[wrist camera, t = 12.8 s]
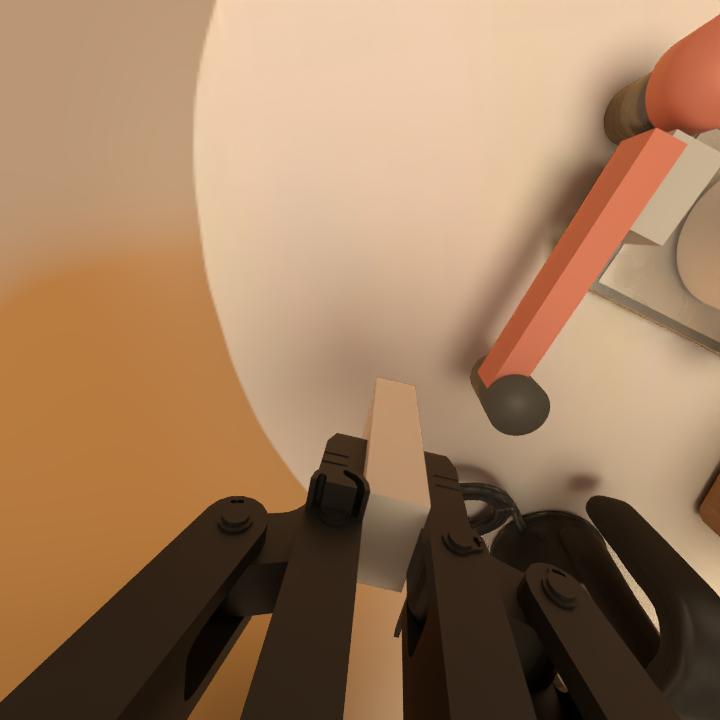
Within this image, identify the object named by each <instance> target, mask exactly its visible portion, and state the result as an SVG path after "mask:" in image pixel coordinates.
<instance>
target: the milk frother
mask: <svg viewBox="0 0 720 720" xmlns="http://www.w3.org/2000/svg"><path fill="white" fill-rule="evenodd" d="M459 484H460V488H461V492H462V496H463V500H481V501H485V502H487V503H489V504H490V505H492V506H493V507H494V510H493V512H492V513H491V514H490V515H489V516H487V517H486V518H484V519H482V520H480V521H478V522H475V523H472V524H470V527H471V528H472V529H473V530H475V531H476V532H477V533H478V534H479V535H480V536H481V535H484V534H486V533H489V532H491V531H493V530H495V529H497V528H498V527H500V526H501V525H503V524H504V523H505V522H506V521H507V519H508V518H509V517H510V515H513V518H514V522H513V523H511V524H510V525H509V526H507V527H506V528H505V529H504V530H503V531H502V532H501V533H500V534H499V536H498V537H497V538H496V540H495V541H494V543H493V546H492V549H491V554H490V555H492V556H493V557H494V558H496V559H498V560H499V561H501V562H503V563H505V564H507V565H509V566H511V567H513V568H515V569H517V570H519V571H521V572H523V573H525V572H526V570H527V569H528V568H529V566H530V565H531V564H535V563H545V564H551V565H553V566H555V567H557V568H559V569H562V570H564V571H565V572H566V573H568V574H569V575H570V576H572V577H573V578H574V579H576V580H577V581H578V582H579V584H580V585H581V586H582V587H583V588H584V589H585V590H586V591H587V593H588V594H589V595H590V597H591V598H592V599H593V601H594V602H595V603H596V605H597V606H598V608H599V609H600V610H601V612H602V613H603V614H604V616H605V617H606V618H607V620H608V621H609V622H610V624H611V625H612V626H613V628H614V629H615V631H616V632H617V633H618V635H619V636H620V637H621V639H622V640H623V641H624V643H625V644H626V645H627V647H628V648H629V649H630V651H631V652H632V654H633V655H634V656H635V658H636V659H637V660H638V662H639V663H640V664H641V666H642V667H643V668H644V670H645V671H646V672H647V674H648V675H649V677H650V678H651V679H652V681H653V682H654V683H655V685H656V686H657V687H658V689H659V690H660V691H661V693H662V694H663V695H664V697H665V698H666V700H667V701H668V702H669V704H670V705H671V706H672V708H673V709H674V710H675V712H676V713H677V714H678V716H679V717H680V718H681V720H720V597H719V596H718V595H717V594H716V592H715V591H714V590H713V589H712V588H711V587H710V586H709V585H708V584H707V583H706V582H705V581H704V580H703V579H702V578H701V577H700V576H699V575H698V574H697V572H696V571H695V570H694V569H693V568H692V567H691V566H690V565H689V564H688V563H687V562H686V561H685V560H684V559H683V558H682V557H681V556H680V555H679V554H678V553H677V552H676V551H675V550H674V549H673V548H672V547H671V546H670V545H669V543H668V542H667V541H666V540H665V539H663V538H662V537H661V535H660V534H659V533H658V532H657V531H656V530H655V529H654V528H653V527H652V526H651V525H650V524H649V523H648V522H647V521H646V520H645V519H644V518H643V517H642V516H641V515H640V514H639V513H638V512H637V511H636V510H635V509H634V508H633V507H632V506H630V505H629V504H628V503H626V502H624V501H621V500H618V499H614V498H610V497H606V496H593V497H591V498H590V499H589V500H588V502H587V504H586V511H587V513H588V516H589V517H590V519H591V520H592V522H593V523H594V524H595V526H596V527H597V529H598V530H599V531H600V533H601V534H602V535H601V534H600V533H599V531H598V530H597V529H596V528H595V527H594V526H592V525H591V524H590V523H588V522H587V521H585V520H584V519H581V518H579V517H576V516H573V515H570V514H566V513H559V512H544V513H536V514H533V515H528V516H526V517H523V518H522V516H521V514H520V511H519V510H518V508H517V506H516V504H515V503H514V501H513V500H512V498H511V497H510V496H509V495H508V494H507V493H506V492H505V491H503V490H501V489H500V488H497V487H495V486H492V485H488V484H483V483H459ZM602 536H603V537H604V538H605V540H606V541H607V542H608V544H609V545H610V546H611V548H612V549H613V550H614V551H615V553H616V554H617V555H618V557H619V558H620V560H621V562H622V563H623V564H624V566H625V567H626V569H627V570H628V571H629V573H630V574H631V576H632V577H633V578H634V580H635V581H636V582H637V584H638V585H639V586H640V587H641V588H642V590H643V591H644V592H645V594H646V595H647V597H648V598H649V600H650V601H651V603H652V604H653V606H654V608H655V610H656V614H657V617H658V621H659V626H660V633H659V632H658V630H657V629H656V627H655V626H654V624H653V623H652V621H651V619H650V618H649V616H648V615H647V613H646V612H645V610H644V609H643V608H642V606H641V605H640V603H639V601H638V600H637V598H636V597H635V595H634V594H633V592H632V590H631V589H630V587H629V586H628V584H627V582H626V581H625V579H624V577H623V575H622V574H621V572H620V570H619V569H618V567H617V565H616V564H615V562H614V560H613V559H612V557H611V555H610V553H609V552H608V550H607V547H606V544H605V541H604V539H603V537H602ZM558 677H559V679H560V680H561V682H562V683H563V681H562V679H561V677H560V675H559V674H558ZM563 685H564V686H565V684H564V683H563ZM565 687H566V686H565Z"/></svg>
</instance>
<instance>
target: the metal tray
mask: <svg viewBox="0 0 720 720" xmlns="http://www.w3.org/2000/svg"><path fill="white" fill-rule="evenodd" d="M651 73H652V72H651ZM651 73H649V74H648V75H646V76H644V77H643V78H641V79H639V80H638V81H636V82H634V83H633V84H631V85H630V86H628V87H626V88H625V89H623V90H622V91H620V92H619V93H618V94H617V95H616V96H615V97H614V98H613V99H612V101H611V102H610V104H609V106H608V108H607V110H606V113H605V118H604V127H605V131H606V134H607V136H608V137H609V139H610V140H611V141H612V142H614V143H615V144H618V145H619V144H620V143H621V141H623V140H626V139H628V138H631V137H634V136H636V135H639V134H641V133H644V132H646V131H649V130H652V129H654V128H655V127H654V126H653V124H652V123H651V121H650V119H649V117H648V114H647V111H646V105H645V95H646V89H647V84H648V81H649V78H650V76H651ZM691 137H693V138H695V139H697V140H699V141H700V142H702V143H704V144H706V145H708V146H710V147H711V148H713V149H715V150H717V151H719V152H720V128H717V129H714V130H710V131H707V132H704V133H701V134H698V135H694V136H691ZM719 181H720V168H719V169H718V170H717V172H716V173H715V174H714V176H713V177H712V179H711V180H710V181H709V183H708V184H707V185H706V187H705V188H704V190H703V191H702V192H701V194H700V195H699V196H698V198H697V199H696V201H695V202H694V203H693V205H692V206H691V207H690V209H689V210H688V212H687V213H686V214H685V216H684V217H683V219H682V220H681V221H680V223H679V224H678V225H677V227H676V228H675V230H674V231H673V232H672V234H671V235H670V236H669V238H668V239H667V241H666V242H665V243H664V245H663V246H652V245H635V244H619V246H618V247H617V249H616V250H615V252H614V253H613V255H612V256H611V258H610V259H609V260H608V262H607V263H606V265H605V266H604V268H603V269H602V271H601V272H600V274H599V275H598V277H597V278H596V279H595V281H594V282H593V284H592V285H591V287H590V288H589V290H591V291H593V292H595V293H597V294H599V295H601V296H603V297H605V298H607V299H609V300H611V301H613V302H615V303H617V304H619V305H621V306H623V307H625V308H627V309H629V310H631V311H633V312H635V313H637V314H639V315H641V316H643V317H645V318H647V319H649V320H651V321H653V322H655V323H657V324H659V325H661V326H663V327H665V328H667V329H669V330H671V331H673V332H675V333H677V334H679V335H681V336H683V337H685V338H687V339H689V340H691V341H693V342H695V343H697V344H699V345H701V346H703V347H705V348H707V349H709V350H711V351H713V352H715V353H717V354H719V355H720V309H716V308H714V307H712V306H709V305H707V304H705V303H703V302H701V301H700V300H698V299H697V298H695V297H694V296H693V295H692V294H691V293H690V292H689V290H688V289H687V288H686V286H685V285H684V283H683V281H682V279H681V277H680V274H679V271H678V266H677V245H678V240H679V236H680V233H681V230H682V228H683V225H684V223H685V221H686V219H687V217H688V215H689V214H690V212H691V211H692V209H693V208H694V206H695V205H696V203H697V202H698V201H699V200H700V199H701V198H702V196H703V195H704V194H705V193H706V192H707V191H708V190H709V189H710V188H711V187H712V186H714V185H715V184H716V183H717V182H719Z"/></svg>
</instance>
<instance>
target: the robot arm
mask: <svg viewBox="0 0 720 720" xmlns="http://www.w3.org/2000/svg"><path fill="white" fill-rule="evenodd" d="M405 580H406V581H407V597H406V600H405V602H404V605H403V608H402V611H401V614H400V616H399V619H398V622H397V625H396V628H395V633H394V637H399V635H400V632H401V629H402V662H403V663H402V665H403V720H681V718H680V717H679V716H678V714H677V713H676V712H675V710H674V709H673V708H672V706H671V705H670V704H669V702H668V701H667V700H666V698H665V697H664V695H663V694H662V693H661V691H660V690H659V689H658V687H657V686H656V685H655V683H654V682H653V681H652V679H651V678H650V677H649V675H648V674H647V672H646V671H645V670H644V668H643V667H642V666H641V664H640V663H639V662H638V660H637V659H636V658H635V656H634V655H633V654H632V652H631V651H630V649H629V648H628V647H627V645H626V644H625V643H624V641H623V640H622V639H621V637H620V636H619V635H618V633H617V632H616V631H615V629H614V628H613V626H612V625H611V624H610V622H609V621H608V620H607V618H606V617H605V616H604V614H603V613H602V612H601V610H600V609H599V608H598V606H597V605H596V603H595V602H594V601H593V599H592V598H591V597H590V595H589V594H588V593H587V591H586V590H585V589H584V588H583V587H582V586H581V585H580V584H579V582H578V581H577V580H576V579H574V578H573V577H572V576H570V575H569V574H568V573H566V572H565V571H564V570H562V569H559V568H557V567H555V566H553V565H551V564H545V563H535V564H531V565H530V566H529V568H528V569H527V570H526V572H525V573H523V572H521V571H519V570H517V569H515V568H513V567H511V566H509V565H507V564H505V563H503V562H501V561H499V560H498V559H496V558H494V557H493V556H492V555H490V554H489V551H488V548H487V546H486V544H485V542H484V540H483V538H482V537H481V536H480V535H479V534H478V533H477V532H476V531H475V530H473V529H472V528H471V527H470V523H469V519H468V515H467V511H466V507H465V504H464V500H463V496H462V492H461V488H460V484H459V482H458V476H457V472H456V468H455V467H454V466H453V464H452V463H451V462H450V460H449V459H448V458H447V457H446V456H442V455H437V454H433V453H428V452H424V451H423V443H422V436H421V428H420V421H419V413H418V405H417V398H416V390H415V386H413V385H409V384H404V383H400V382H395V381H391V380H386V379H382V378H377V380H376V384H375V388H374V392H373V396H372V400H371V405H370V409H369V413H368V417H367V421H366V425H365V429H364V434H363V438H362V439H361V438H357V437H352V436H348V435H343V434H339V433H336V434H335V435H334V436H333V437H332V438H330V439H329V440H328V442H327V445H326V448H325V452H324V455H323V458H322V462H321V465H320V468H319V470H317V471H315V473H314V474H313V476H312V477H311V481H310V486H309V491H308V497H307V501H306V503H305V505H303V506H302V507H300V508H298V509H296V510H294V511H290V512H284V513H269V514H268V513H267V511H266V509H265V508H264V506H263V505H262V504H261V503H259V502H258V501H256V500H255V499H252V498H248V497H244V496H230V497H227V498H224V499H221V500H218V501H217V502H215V503H214V504H212V505H211V506H209V507H208V508H207V509H206V510H205V511H204V512H203V513H202V514H201V515H200V516H198V517H197V518H196V519H195V520H194V521H193V522H192V523H191V524H190V525H189V526H188V527H187V528H186V529H185V530H184V531H183V532H181V533H180V534H179V535H178V536H177V537H176V538H175V539H174V540H173V541H172V542H171V543H170V544H169V545H168V546H166V547H165V548H164V549H163V550H162V551H161V552H160V553H159V554H158V555H157V556H156V557H155V558H154V559H153V560H152V561H151V562H150V563H149V564H147V565H146V566H145V567H144V568H143V569H142V570H141V571H140V572H139V573H138V574H137V575H136V576H135V577H133V578H132V579H131V580H130V581H129V582H128V583H127V584H126V585H125V586H124V587H123V588H122V589H121V590H120V591H119V592H118V593H116V594H115V595H114V596H113V597H112V598H111V599H110V600H109V601H108V602H107V603H106V604H105V605H104V606H103V607H101V608H100V610H98V611H97V612H96V613H95V614H94V615H93V616H92V617H91V618H90V619H89V620H88V621H87V622H86V623H84V624H83V625H82V626H81V627H80V628H79V629H78V630H77V631H76V632H75V633H74V634H73V635H72V636H71V637H70V638H68V639H67V640H66V641H65V642H64V643H63V644H62V645H61V646H60V647H59V648H58V649H57V650H56V651H55V652H54V653H52V654H51V655H50V657H48V658H47V659H46V660H45V661H44V662H43V663H42V664H41V665H40V666H39V667H38V668H37V669H35V671H34V672H32V673H31V674H30V675H29V676H28V677H27V678H26V679H25V680H24V681H23V682H22V683H21V684H19V685H18V686H17V687H16V688H15V689H14V690H13V691H12V692H11V693H10V694H9V695H8V696H7V697H6V698H5V699H4V700H2V701H1V702H0V720H187V719H188V717H189V715H190V714H191V712H192V710H193V709H194V707H195V706H196V704H197V703H198V701H199V700H200V698H201V696H202V695H203V693H204V692H205V690H206V689H207V687H208V685H209V684H210V682H211V681H212V679H213V677H214V676H215V674H216V673H217V671H218V670H219V668H220V666H221V665H222V663H223V662H224V660H225V659H226V657H227V655H228V654H229V652H230V651H231V649H232V647H233V646H234V644H235V643H236V641H237V639H238V638H239V636H240V635H241V633H242V632H243V630H244V629H245V627H246V625H247V624H248V622H249V621H250V619H251V617H252V616H253V615H261V614H269V613H273V614H272V617H271V621H270V624H269V627H268V631H267V634H266V637H265V640H264V643H263V647H262V650H261V653H260V656H259V660H258V663H257V666H256V670H255V673H254V676H253V679H252V682H251V686H250V689H249V692H248V695H247V699H246V702H245V705H244V708H243V712H242V715H241V718H240V720H343V713H344V703H345V692H346V683H347V673H348V663H349V653H350V643H351V633H352V623H353V613H354V603H355V593H356V583H357V582H358V583H362V584H366V585H371V586H375V587H379V588H384V589H389V590H393V591H397V592H402V589H403V586H404V583H405ZM558 674H559V675H560V677H561V679H562V681H563V683H564V684H565V686H566V687H565V686H564V685H563V683H562V682H561V680H560V679H559V677H558Z"/></svg>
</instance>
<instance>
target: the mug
mask: <svg viewBox="0 0 720 720" xmlns="http://www.w3.org/2000/svg"><path fill="white" fill-rule="evenodd" d="M677 266H678V271H679V274H680V277H681V279H682V281H683V283H684V285H685V286H686V288H687V289H688V290H689V292H690V293H691V294H692V295H693V296H694V297H695V298H697V299H698V300H700V301H701V302H703V303H705V304H707V305H709V306H712V307H714V308H716V309H720V181H719V182H717V183H716V184H715V185H714V186H712V187H711V188H710V189H709V190H708V191H707V192H706V193H705V194H704V195H703V196H702V198H701V199H700V200H699V201H698V202H697V203H696V205H695V206H694V208H693V209H692V211H691V212H690V214H689V215H688V217H687V219H686V221H685V223H684V225H683V228H682V230H681V233H680V236H679V240H678V245H677Z"/></svg>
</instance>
